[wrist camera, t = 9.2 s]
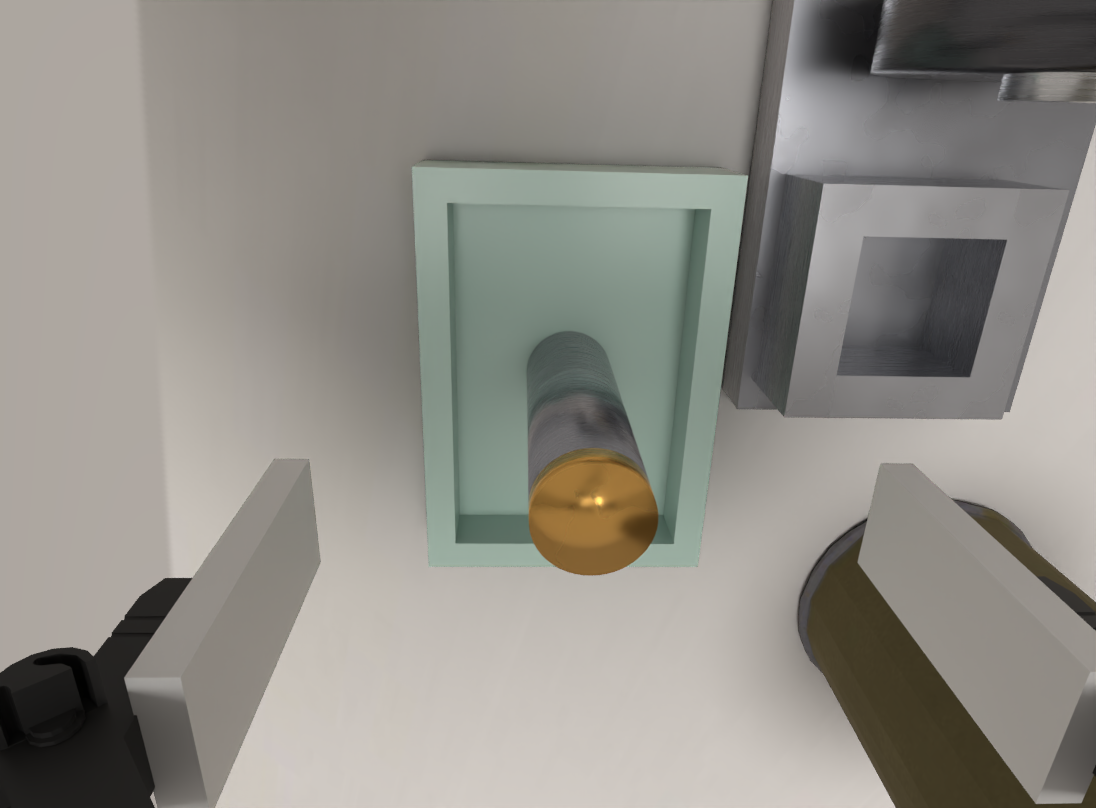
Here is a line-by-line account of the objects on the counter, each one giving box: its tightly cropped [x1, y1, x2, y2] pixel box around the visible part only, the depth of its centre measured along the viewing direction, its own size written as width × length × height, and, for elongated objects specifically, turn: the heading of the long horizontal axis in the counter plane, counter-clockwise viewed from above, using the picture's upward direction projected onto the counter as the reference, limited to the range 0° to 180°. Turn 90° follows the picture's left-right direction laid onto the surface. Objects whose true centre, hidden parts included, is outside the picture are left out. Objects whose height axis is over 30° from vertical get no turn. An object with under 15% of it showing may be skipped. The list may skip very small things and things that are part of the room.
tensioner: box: [722, 0, 1096, 419], centre depth 19 cm, size 16×10×11 cm, turn 178°
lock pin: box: [527, 331, 658, 575], centre depth 21 cm, size 3×3×10 cm
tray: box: [412, 160, 748, 567], centre depth 25 cm, size 14×10×3 cm
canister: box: [799, 500, 1096, 808], centre depth 22 cm, size 11×10×20 cm
